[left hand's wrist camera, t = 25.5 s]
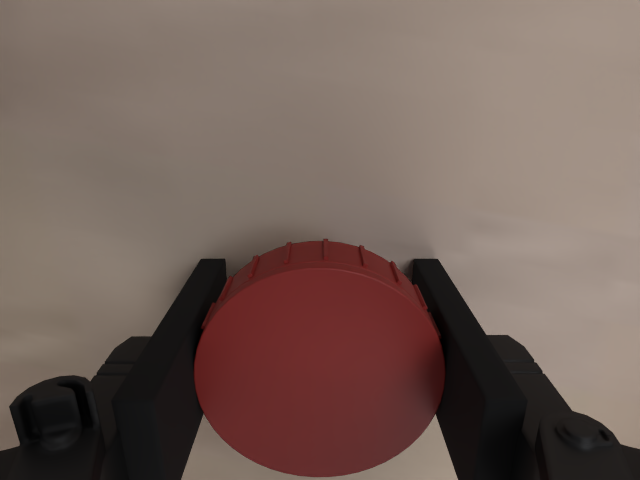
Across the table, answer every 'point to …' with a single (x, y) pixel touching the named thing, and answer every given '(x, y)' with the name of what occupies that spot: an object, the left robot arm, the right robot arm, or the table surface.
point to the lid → (319, 360)
